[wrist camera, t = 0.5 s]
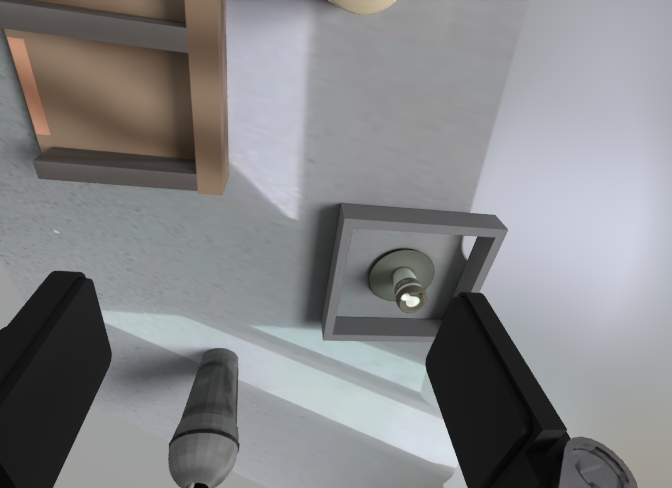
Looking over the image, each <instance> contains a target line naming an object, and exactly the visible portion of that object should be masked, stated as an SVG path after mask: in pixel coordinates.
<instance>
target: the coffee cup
mask: <svg viewBox="0 0 672 488" xmlns="http://www.w3.org/2000/svg"><path fill="white" fill-rule="evenodd" d="M433 277H434V265H433V263H432V261H431V260H430V258H429V257H428V256H426V255H425V254H423V253H421V252H419V251H416V250H411V249H405V250H399V251H395V252H392V253H390V254H388V255H386V256H384V257H383V258H381V259H380V260H379V261H378V262H377V263H376V264H375V265H374V267H373V269H372V270H371V273H370V277H369V283H370V287H371V289H372V291H373V292H374V293H375V294H376V295H377V296H379V297H380V298H382V299H384V300H388V301H396V303H397V305H398V307H399V308H400V309H401V310H402V311H404V312H407V313H414V312H417V311H419V310H421V309H422V308H424V306H425V305H426V303H427V294H426V291H425V290H426V289H427V287H428V286H429V285H430V284H431V282H432V280H433Z"/></svg>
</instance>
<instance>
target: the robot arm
mask: <svg viewBox="0 0 672 488" xmlns="http://www.w3.org/2000/svg"><path fill="white" fill-rule="evenodd" d="M111 357H112V352H111V348H110V344H109V340H108V336H107V333H106V329H105V325H104V321H103V317H102V314H101V310H100V306H99V302H98V298H97V295H96V291H95V287H94V283H93V281H92V280H91V279H88V278H86V277H85V275H84V274H83V273H82V272H69V271H53V272H51V273H50V274H49V275H48V277H47V278H46V279H45V280H44V281H43V283H42V284H41V285H40V286H39V288H38V289H37V290H36V291H35V293H34V294H33V295H32V296H31V297H30V299H29V300H28V301H27V302H26V304H25V305H24V306H23V307H22V309H21V310H20V311H19V312H18V313H17V315H16V316H15V317H14V318H13V320H12V321H11V322H10V323H9V324H8V326H7V327H4V328H2V329H1V330H0V488H53V486H54V484H55V482H56V480H57V478H58V475H59V473H60V471H61V469H62V467H63V465H64V462H65V460H66V458H67V456H68V454H69V452H70V450H71V448H72V445H73V443H74V441H75V439H76V437H77V434H78V432H79V430H80V428H81V426H82V424H83V422H84V420H85V417H86V415H87V413H88V411H89V409H90V407H91V405H92V402H93V400H94V398H95V396H96V394H97V392H98V390H99V387H100V385H101V383H102V381H103V379H104V377H105V374H106V372H107V370H108V368H109V366H110V362H111ZM426 370H427V373H428V376H429V379H430V382H431V384H432V388H433V391H434V393H435V396H436V399H437V402H438V405H439V408H440V411H441V413H442V416H443V419H444V422H445V425H446V428H447V431H448V433H449V436H450V439H451V442H452V445H453V448H454V450H455V453H456V456H457V459H458V462H459V465H460V467H461V470H462V473H463V476H464V479H465V482H466V485H467V487H468V488H638V487H637V483H636V480H635V478H634V477H633V475H632V473H631V471H630V470H629V468H628V467H627V466H626V464H625V463H624V462H623V461H622V459H620V458H619V457H618V456H617V455H616V454H615V453H614V452H613V451H612V450H610V449H609V448H607V447H606V446H605V445H603V444H602V443H599V442H597V441H595V440H593V439H590V438H585V437H575V438H572V439H571V438H570V437H569V435H568V433H567V432H566V430H567V429H566V427H565V425H564V424H563V422H562V420H561V419H560V417H559V416H558V414H557V412H556V411H555V409H554V407H553V406H552V404H551V403H550V401H549V399H548V398H547V396H546V395H545V393H544V391H543V390H542V388H541V386H540V385H539V383H538V382H537V380H536V379H535V377H534V375H533V373H532V372H531V370H530V369H529V367H528V365H527V364H526V362H525V361H524V359H523V357H522V356H521V354H520V352H519V351H518V349H517V348H516V346H515V344H514V343H513V341H512V340H511V338H510V336H509V335H508V333H507V331H506V330H505V328H504V327H503V325H502V323H501V322H500V320H499V318H498V317H497V315H496V314H495V312H494V310H493V309H492V307H491V305H490V304H489V302H488V301H487V299H486V297H485V296H484V295H483V294H482V293H475V292H460V293H459V294H458V296H457V297H453V298H452V300H451V302H450V305H449V307H448V309H447V311H446V314H445V316H444V318H443V321H442V323H441V325H440V327H439V330H438V332H437V334H436V337H435V339H434V341H433V344H432V346H431V348H430V350H429V353H428V355H427V357H426Z"/></svg>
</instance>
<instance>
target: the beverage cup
mask: <svg viewBox="0 0 672 488" xmlns="http://www.w3.org/2000/svg"><path fill="white" fill-rule="evenodd" d="M237 398H238V357H237V355H236V354H235V353H234V352H232V351H230V350H227V349H222V348H217V349H212V350H210V351H208V352H206V353H205V354H204V356H203V359H202V362H201V364H200V366H199V368H198V371H197V374H196V377H195V380H194V383H193V386H192V389H191V392H190V395H189V398H188V401H187V404H186V407H185V410H184V413H183V415H182V418H181V421H180V423H179V425H178V427H177V429H176V431H175V433H174V435H173V438H172V440H171V441H170V443H169V458H168V459H169V470H170V473H171V476H172V478H173V479H174V481H175V482H176V484H177V485H178V486H179V487H181V488H215V487H217V486H218V485H219V484H221V483H222V482H223V481H224V479H225V478H226V477H227V476H228V474H229V473H230V472H231V470H232V468H233V466H234V464H235V461H236V456H237V454H238V451H239V442H238V427H237Z"/></svg>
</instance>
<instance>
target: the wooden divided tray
mask: <svg viewBox="0 0 672 488" xmlns="http://www.w3.org/2000/svg"><path fill="white" fill-rule="evenodd" d="M0 28H3V29H4V31H5V35H6V38H7V41H8V44H9V48H10V51H11V54H12V58H13V61H14V64H15V67H16V71H17V74H18V77H19V80H20V84H21V87H22V90H23V94H24V97H25V100H26V103H27V107H28V110H29V113H30V116H31V120H32V123H33V126H34V130H35V133H36V136H37V139H38V143H39V146H40V149H41V152H42V155H40V156H39V157H37V158H36V159H34V160H33V163H34V166H35V169H36V172H37V175H38V178H39V179H49V180H62V181H75V182H88V183H101V184H114V185H127V186H140V187H153V188H166V189H179V190H192V191H198V194H210V195H223V193H224V189H225V186H226V183H227V180H228V176H229V163H228V111H227V59H226V6H225V0H0Z"/></svg>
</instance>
